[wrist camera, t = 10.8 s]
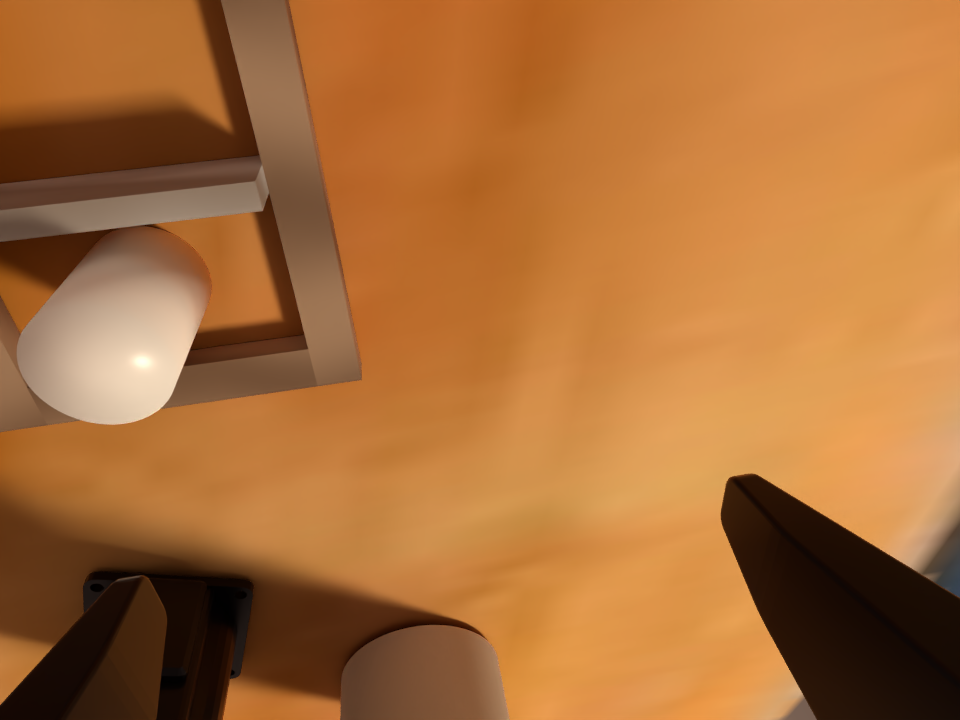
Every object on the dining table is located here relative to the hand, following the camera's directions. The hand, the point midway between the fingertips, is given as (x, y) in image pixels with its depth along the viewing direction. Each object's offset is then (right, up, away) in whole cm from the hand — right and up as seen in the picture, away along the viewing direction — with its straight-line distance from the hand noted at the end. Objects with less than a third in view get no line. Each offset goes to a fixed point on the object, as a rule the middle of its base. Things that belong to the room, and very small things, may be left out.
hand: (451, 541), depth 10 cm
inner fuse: (-10, +5, +10) cm, 15 cm away
